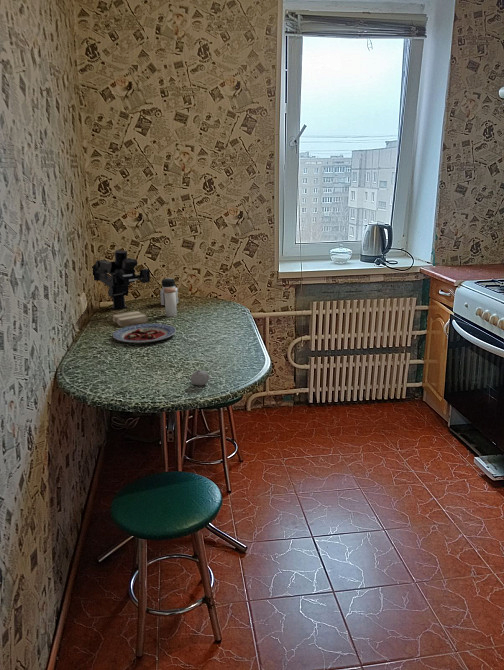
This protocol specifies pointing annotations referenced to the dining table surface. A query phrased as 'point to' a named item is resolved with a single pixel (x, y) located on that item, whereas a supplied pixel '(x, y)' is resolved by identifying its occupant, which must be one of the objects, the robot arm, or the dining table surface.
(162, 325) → the ceramic plate
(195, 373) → the garlic
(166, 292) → the jar
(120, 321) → the base block
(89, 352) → the dining table surface
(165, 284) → the container
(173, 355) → the dining table surface
